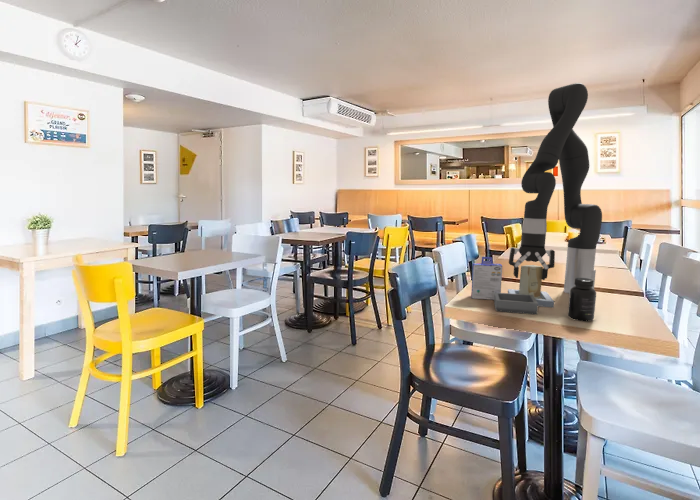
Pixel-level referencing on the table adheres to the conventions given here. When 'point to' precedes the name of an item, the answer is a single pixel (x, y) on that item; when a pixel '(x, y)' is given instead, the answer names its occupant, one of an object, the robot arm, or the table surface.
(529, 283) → the skincare box
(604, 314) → the table surface
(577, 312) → the supplement bottle
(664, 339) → the table surface
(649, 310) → the table surface
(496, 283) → the ink cartridge box
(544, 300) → the socket block
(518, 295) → the parts tray
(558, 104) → the robot arm
